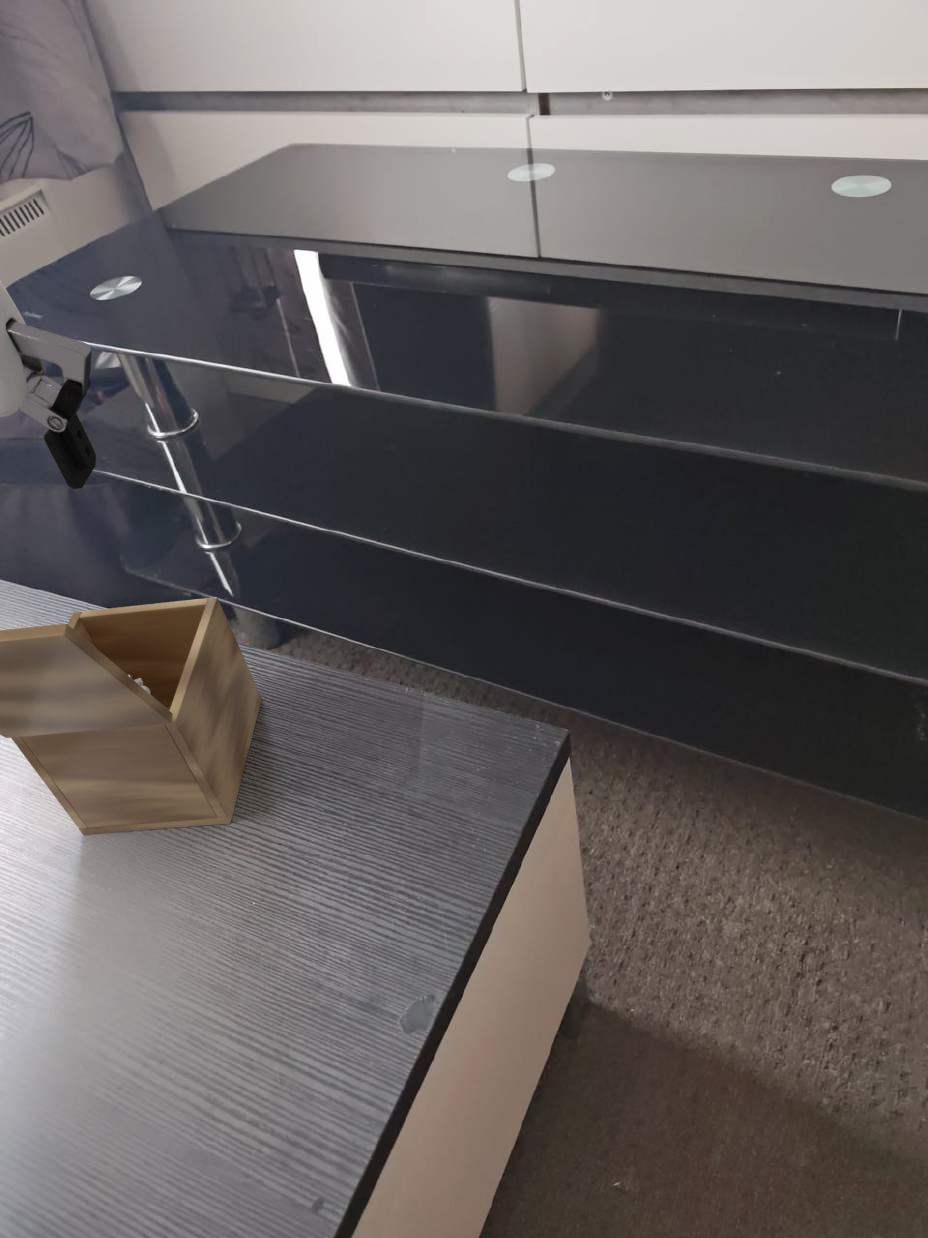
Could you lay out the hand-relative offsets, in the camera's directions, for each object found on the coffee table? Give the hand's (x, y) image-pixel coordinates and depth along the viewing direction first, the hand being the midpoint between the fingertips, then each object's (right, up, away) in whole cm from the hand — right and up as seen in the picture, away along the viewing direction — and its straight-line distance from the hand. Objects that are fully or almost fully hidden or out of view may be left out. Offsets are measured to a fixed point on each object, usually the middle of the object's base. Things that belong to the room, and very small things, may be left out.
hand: (14, 485), depth 59 cm
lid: (+1, -13, 0) cm, 13 cm away
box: (+4, -21, +20) cm, 29 cm away
